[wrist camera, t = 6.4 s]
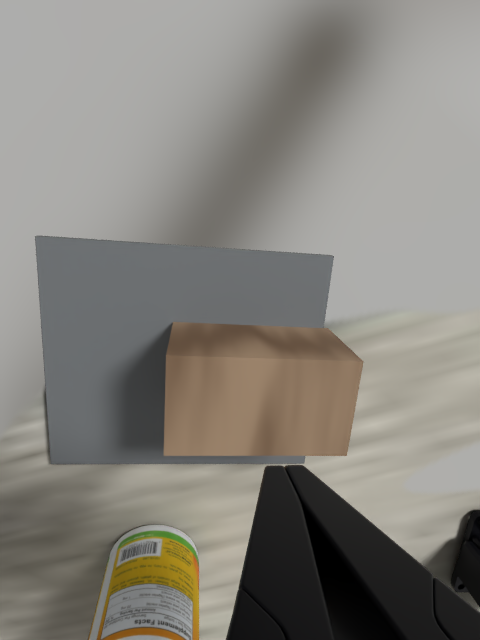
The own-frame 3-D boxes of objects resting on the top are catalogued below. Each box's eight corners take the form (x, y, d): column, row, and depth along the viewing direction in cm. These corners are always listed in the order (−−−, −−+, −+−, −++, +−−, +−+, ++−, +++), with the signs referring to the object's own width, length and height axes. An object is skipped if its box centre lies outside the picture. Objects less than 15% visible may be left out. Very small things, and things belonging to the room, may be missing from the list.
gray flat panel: (331, 255, 19) (333, 256, 19) (302, 459, 23) (304, 463, 22) (38, 235, 18) (35, 236, 17) (53, 459, 21) (50, 463, 21)
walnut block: (172, 321, 19) (328, 328, 20) (170, 403, 20) (316, 405, 21) (165, 355, 15) (363, 361, 16) (163, 455, 16) (346, 455, 17)
